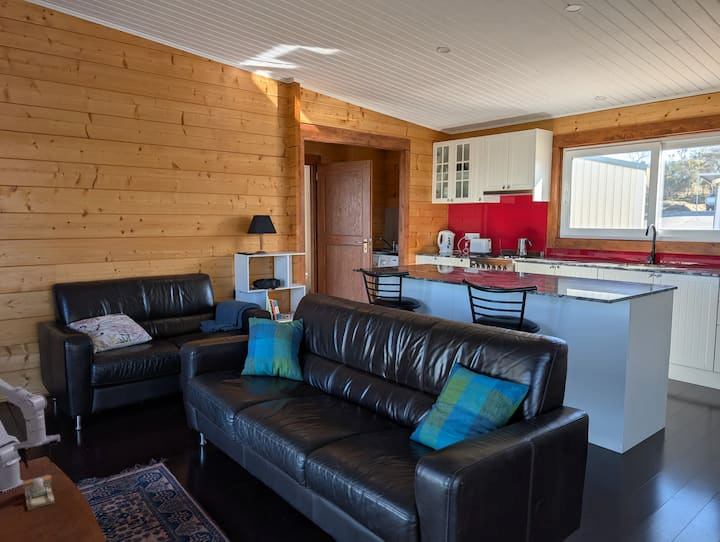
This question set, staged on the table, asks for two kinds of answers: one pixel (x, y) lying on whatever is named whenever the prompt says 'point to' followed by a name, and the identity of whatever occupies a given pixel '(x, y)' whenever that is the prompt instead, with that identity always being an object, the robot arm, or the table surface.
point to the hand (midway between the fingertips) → (39, 464)
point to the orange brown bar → (32, 481)
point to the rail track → (39, 500)
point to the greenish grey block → (38, 487)
